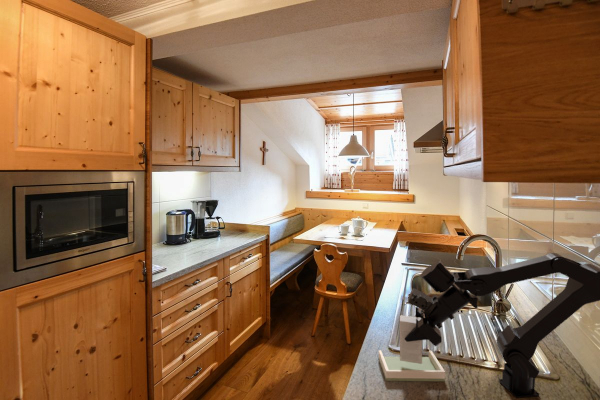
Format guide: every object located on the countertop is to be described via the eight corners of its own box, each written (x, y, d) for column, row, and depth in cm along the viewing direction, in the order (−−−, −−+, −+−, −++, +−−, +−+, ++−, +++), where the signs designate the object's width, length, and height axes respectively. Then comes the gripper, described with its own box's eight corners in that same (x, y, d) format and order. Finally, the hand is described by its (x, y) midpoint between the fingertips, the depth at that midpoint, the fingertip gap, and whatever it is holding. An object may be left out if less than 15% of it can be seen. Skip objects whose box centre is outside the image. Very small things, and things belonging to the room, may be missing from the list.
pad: (431, 359, 97) (431, 350, 96) (444, 381, 87) (445, 371, 86) (378, 358, 97) (378, 350, 97) (386, 380, 87) (386, 371, 87)
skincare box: (421, 356, 93) (421, 317, 92) (422, 364, 89) (422, 324, 88) (399, 352, 95) (400, 314, 94) (399, 361, 91) (399, 321, 90)
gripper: (424, 271, 97) (387, 302, 102) (428, 294, 80) (383, 330, 84) (452, 298, 95) (413, 328, 100) (462, 328, 78) (414, 363, 82)
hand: (405, 336), depth 92 cm, fingers closed on skincare box, 4 cm apart
